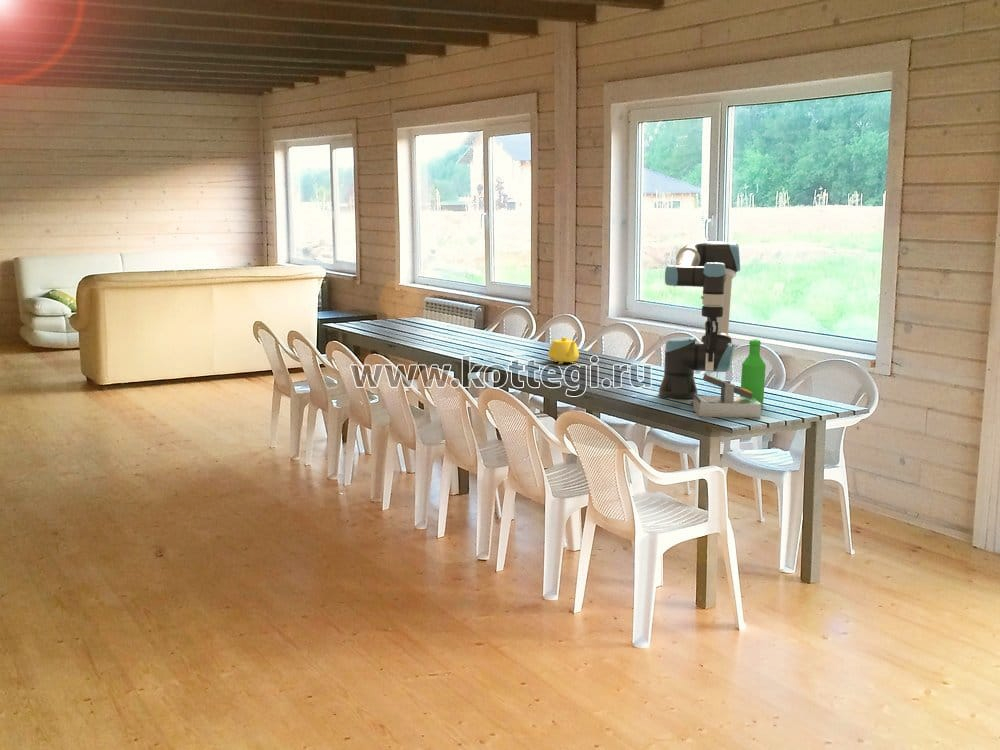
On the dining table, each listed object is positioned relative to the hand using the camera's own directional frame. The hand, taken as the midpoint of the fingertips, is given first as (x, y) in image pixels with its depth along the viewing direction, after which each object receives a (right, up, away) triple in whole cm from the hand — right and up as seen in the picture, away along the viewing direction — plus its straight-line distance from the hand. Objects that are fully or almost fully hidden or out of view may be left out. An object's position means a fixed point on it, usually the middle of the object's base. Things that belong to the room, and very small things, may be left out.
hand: (709, 370), depth 368 cm
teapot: (-46, +4, +114) cm, 123 cm away
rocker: (+7, -6, +1) cm, 9 cm away
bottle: (+20, -13, +20) cm, 32 cm away
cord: (+4, -13, +16) cm, 21 cm away
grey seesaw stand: (+7, -16, +3) cm, 17 cm away
